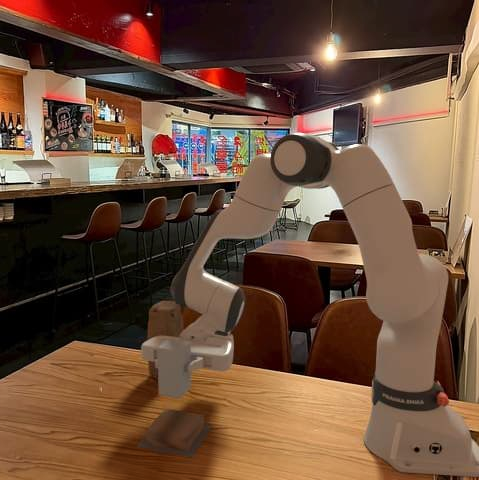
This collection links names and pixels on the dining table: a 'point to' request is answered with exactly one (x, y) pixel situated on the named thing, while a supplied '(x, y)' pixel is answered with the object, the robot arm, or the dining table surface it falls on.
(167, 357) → the pillar
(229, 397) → the dining table surface
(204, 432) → the build pad
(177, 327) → the block
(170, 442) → the base slab
